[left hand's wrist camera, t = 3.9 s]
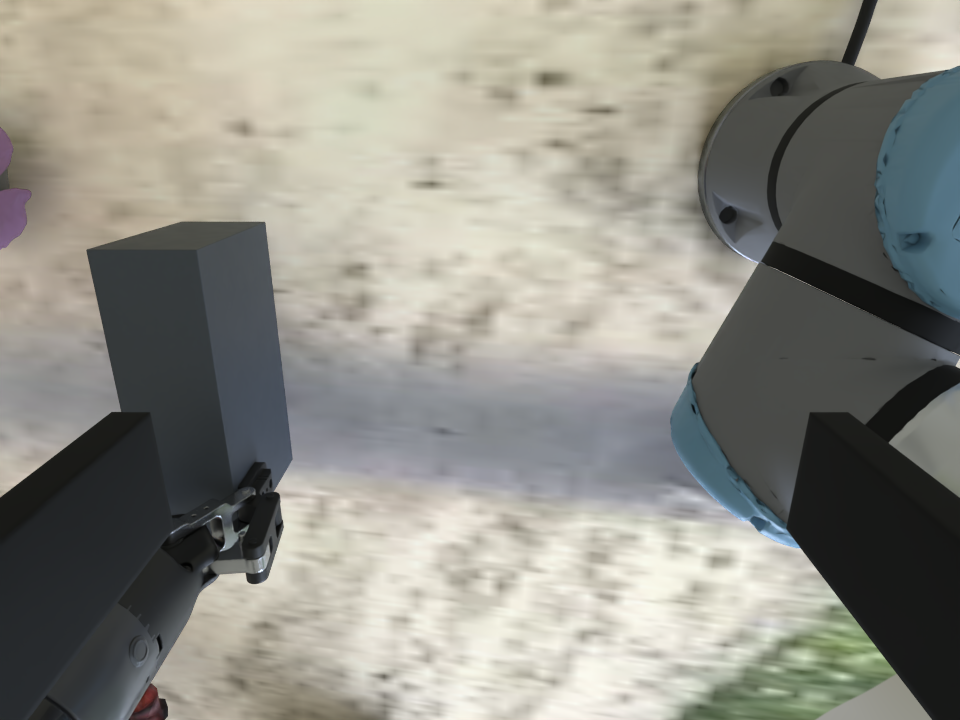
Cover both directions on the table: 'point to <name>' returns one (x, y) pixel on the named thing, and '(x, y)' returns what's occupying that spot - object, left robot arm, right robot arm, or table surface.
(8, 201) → the toy character
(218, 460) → the box
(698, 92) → the table surface
